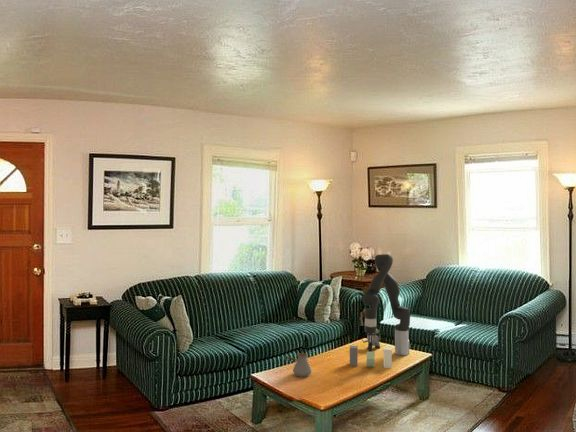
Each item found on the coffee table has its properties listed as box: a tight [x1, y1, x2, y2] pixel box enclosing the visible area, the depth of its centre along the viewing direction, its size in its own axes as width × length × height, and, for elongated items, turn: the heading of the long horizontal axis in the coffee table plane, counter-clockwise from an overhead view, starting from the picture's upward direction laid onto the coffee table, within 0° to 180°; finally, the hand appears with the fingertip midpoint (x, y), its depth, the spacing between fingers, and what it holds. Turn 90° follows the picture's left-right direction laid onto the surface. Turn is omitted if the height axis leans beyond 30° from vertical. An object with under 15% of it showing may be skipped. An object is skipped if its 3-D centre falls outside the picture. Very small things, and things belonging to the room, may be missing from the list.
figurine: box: [361, 328, 381, 351], centre depth 369 cm, size 9×12×15 cm
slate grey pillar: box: [349, 345, 359, 367], centre depth 333 cm, size 5×5×12 cm
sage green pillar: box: [366, 351, 376, 368], centre depth 326 cm, size 5×5×12 cm
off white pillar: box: [382, 346, 393, 369], centre depth 329 cm, size 5×5×12 cm
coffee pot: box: [285, 352, 312, 378], centre depth 309 cm, size 21×12×15 cm, turn 139°
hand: (370, 351), depth 329 cm, fingers closed
